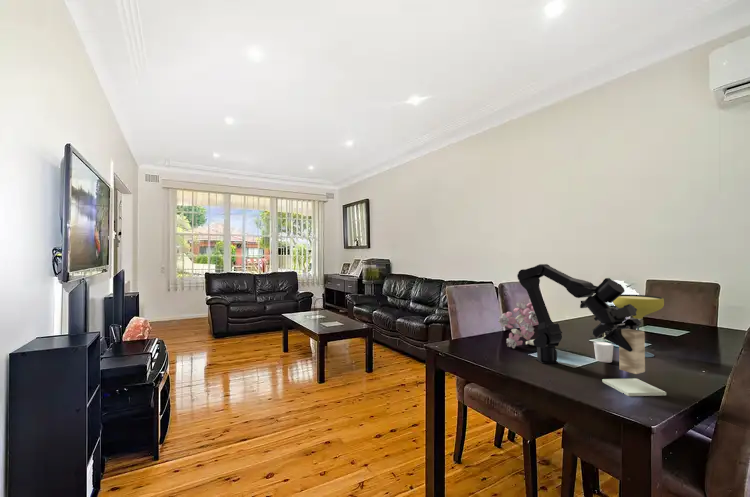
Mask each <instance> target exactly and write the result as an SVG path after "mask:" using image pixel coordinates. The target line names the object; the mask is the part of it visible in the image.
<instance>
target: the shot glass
mask: <svg viewBox="0 0 750 497" xmlns="http://www.w3.org/2000/svg"><path fill="white" fill-rule="evenodd" d="M593 347H594V355H595V360H596V361H597V362H601V363H612V362H613V356H614V355H613V354H614V343H612V342H606V341H593Z"/></svg>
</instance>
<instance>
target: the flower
mask: <svg viewBox="0 0 750 497" xmlns="http://www.w3.org/2000/svg"><path fill="white" fill-rule="evenodd" d="M525 302H526V300H525V299H524V300H523V302H516V306H517V307H515V308H514V309H513V312H512V311H507V312H504V313H502V314H501V316H498V317H497V318H498V321H497V322H498V324H500V326H501V327H502V328H503V327H506V328H508V329H511V330H510V331H511V332H509V334H508V338H506V345H507V347H509V348H511V349H516V346H517V347H518V346H523V342H524V341H523V340H520V338H524V339H525V340H526V341H525V345H530V346H534V343H533V340H535V339H536V338H534V339H531V338H532V337H533V336H535V333H536V332H535V331H534V330H535V328H534V326H538V324H539V323H538V320H537V317H536V314H535V312H534V309H533V306H532V303H531V301H530V298H529V299H528V303H525ZM513 313H514V314H516V313H518V315H517V316H516V317H514V316H513ZM524 322H525V323H524ZM522 323H524V324H523V325H522V326H521V324H522ZM516 324H517V326H518V327H519V329H517V328H514V326H513V325H516Z"/></svg>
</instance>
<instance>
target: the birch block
mask: <svg viewBox="0 0 750 497" xmlns="http://www.w3.org/2000/svg"><path fill="white" fill-rule="evenodd" d="M621 333H622V336H623V337H624V338H625V340H626V341H627V342H628V344H629V345H630V346H631V348H632V349H633V350H632V351H631V352H629V351H627V350H625V349H624V348H622V347H620V346H618V352H619V353H618V356H619V357H618V358H619V360H618V362H619V371H624V372H627V373H630V374H634V375H639V374H642V373H645V372H646V358H645V352H646V351H645V350H646V347H645V345H646V344H645V340H646V338H645V335H646V334H645V331H642V330H639V331H638V330H637V329H636V330H632V329H623V330H621Z"/></svg>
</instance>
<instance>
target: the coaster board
mask: <svg viewBox="0 0 750 497" xmlns="http://www.w3.org/2000/svg"><path fill="white" fill-rule="evenodd" d="M601 380H602V383H603V384H605V385H607V386H608V387H610V388H613V389H614V390H616V391H618V392H620V393H621V394H623V393H624V394H623V395H625V396H628V397H644V396H645V397H647V396H649V397H655V396H661V397H662V396H667V391H664V390H663V389H660V388H658V387H656V386H655V385H652V384H649V383H647V382H645V381H643V380H640V379H639V378H603V379H601Z"/></svg>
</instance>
